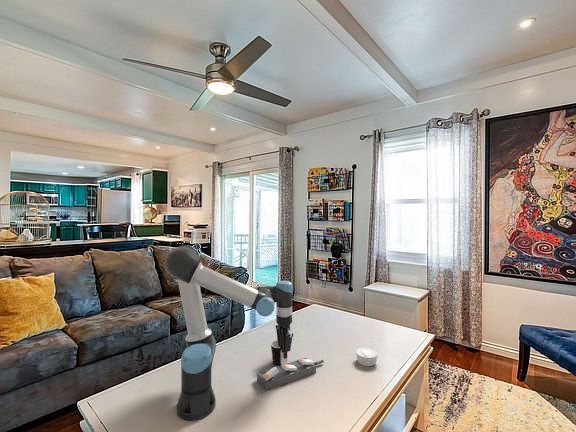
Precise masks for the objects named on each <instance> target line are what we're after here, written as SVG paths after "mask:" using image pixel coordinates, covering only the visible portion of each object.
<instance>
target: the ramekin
mask: <svg viewBox="0 0 576 432" xmlns="http://www.w3.org/2000/svg"><path fill="white" fill-rule="evenodd" d="M378 354H379V353H378V352H377V351H376V350H375V349H373V348H370V347H358V348H356V349H355V355H356V361H357V362H358V364H360V365H362V366H364V367H373V366H375V365H376V364H377V359H378V356H379V355H378Z"/></svg>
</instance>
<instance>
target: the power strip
mask: <svg viewBox="0 0 576 432" xmlns="http://www.w3.org/2000/svg"><path fill="white" fill-rule="evenodd" d="M302 359H308V358H307V357H304V358H302ZM324 362H325V360H324V359H321V360H318V361H314V364H313V365H306V364H301V363H300V362H299V359H297V360H294V361H291V362H287V364H285V365H294V366H295V367H297V371H293V370H284V369H283V368H282V367H281V366H282V365H281V366H275V367H276V368H277V369H278V370H279V373H277V374H276V375H274V376H273V377H271V378H270V379H268V380H267V381H266V380H265V379H264V378H263V374H265V373H266V372H268V371H269V370H271V369H272V368H269V369H265V370H263V371H260V372H257V373H256V381H257V383H258V384H259V385H260V386H261V387H262V389H264V390H265V391H266V392H267V391H269V390H272V389H275V388H277V387H280V386H283V385H286V384H289V383H292V382H295V381H297V380H300V379H302V378H305V377H308V376H311V375H313V374H316V373H317V366H319V365H321V364H323V363H324Z"/></svg>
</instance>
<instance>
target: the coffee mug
mask: <svg viewBox="0 0 576 432" xmlns="http://www.w3.org/2000/svg"><path fill="white" fill-rule="evenodd" d="M270 348H271V349H270V350H271V359H272V364H273V366H274V367H278V366H281V350H280V347H278V341H277V340H274V341H273V340H272V341H271V343H270Z"/></svg>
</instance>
